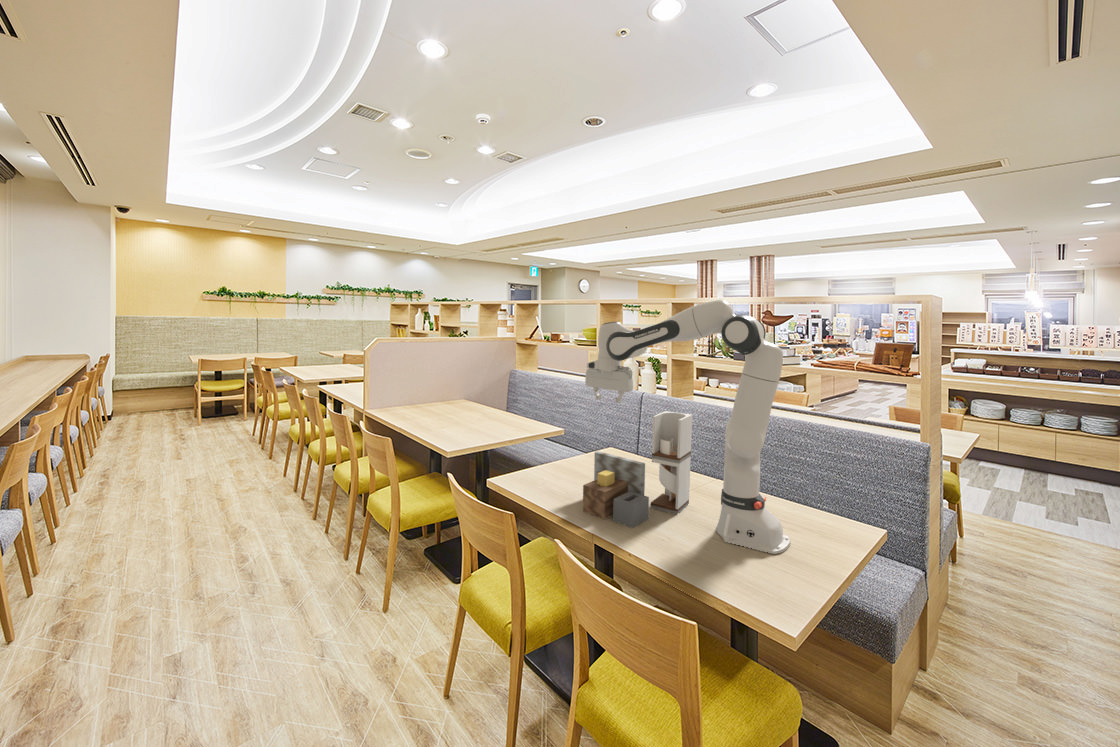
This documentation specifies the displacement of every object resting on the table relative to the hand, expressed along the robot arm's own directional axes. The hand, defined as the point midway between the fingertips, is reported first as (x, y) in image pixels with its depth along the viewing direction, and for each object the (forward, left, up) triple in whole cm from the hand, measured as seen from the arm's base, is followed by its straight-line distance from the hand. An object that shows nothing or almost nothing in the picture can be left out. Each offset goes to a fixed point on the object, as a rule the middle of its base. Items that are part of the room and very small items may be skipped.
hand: (608, 400), depth 181 cm
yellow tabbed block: (-6, +8, -33) cm, 35 cm away
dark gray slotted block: (-18, +9, -39) cm, 44 cm away
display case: (-22, -11, -39) cm, 46 cm away
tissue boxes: (-6, +8, -39) cm, 40 cm away
